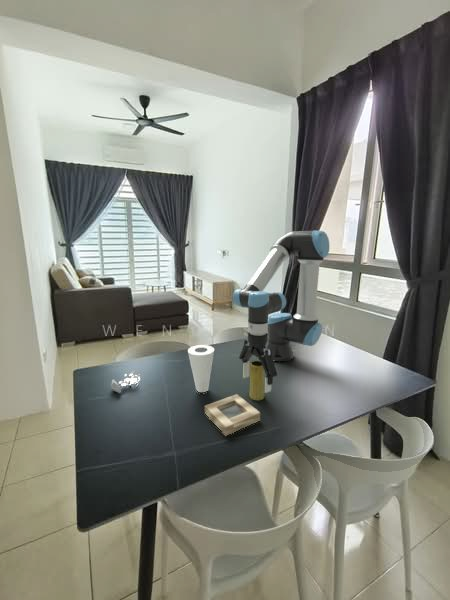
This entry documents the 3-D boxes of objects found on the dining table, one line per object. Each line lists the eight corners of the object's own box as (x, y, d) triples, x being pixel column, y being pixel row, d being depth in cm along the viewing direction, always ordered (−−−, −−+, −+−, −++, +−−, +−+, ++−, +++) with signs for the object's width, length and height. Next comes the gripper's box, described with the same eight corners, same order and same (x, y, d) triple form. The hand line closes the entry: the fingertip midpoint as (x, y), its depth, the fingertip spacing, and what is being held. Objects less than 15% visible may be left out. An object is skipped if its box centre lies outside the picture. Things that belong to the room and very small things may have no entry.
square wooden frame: (204, 414, 102) (204, 405, 102) (236, 402, 110) (236, 394, 109) (225, 436, 91) (225, 427, 90) (260, 421, 98) (260, 412, 97)
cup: (195, 400, 111) (193, 357, 107) (185, 387, 121) (184, 347, 117) (219, 393, 116) (218, 351, 112) (208, 381, 125) (207, 343, 121)
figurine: (106, 379, 120) (134, 366, 126) (111, 392, 121) (137, 379, 128) (113, 387, 112) (141, 373, 119) (118, 400, 114) (145, 386, 120)
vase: (263, 401, 110) (264, 367, 107) (248, 399, 111) (248, 366, 108) (264, 393, 116) (265, 360, 113) (249, 391, 117) (250, 359, 114)
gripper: (231, 325, 116) (230, 374, 120) (272, 344, 95) (270, 401, 100) (245, 323, 120) (245, 369, 124) (288, 340, 99) (286, 395, 104)
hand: (256, 384), depth 112 cm, fingers open, 13 cm apart
